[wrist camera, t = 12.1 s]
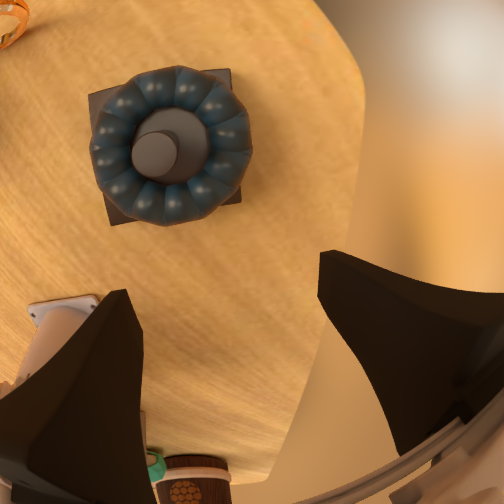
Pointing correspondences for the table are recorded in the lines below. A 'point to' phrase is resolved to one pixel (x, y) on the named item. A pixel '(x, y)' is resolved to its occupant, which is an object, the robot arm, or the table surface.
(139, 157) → the peg stand
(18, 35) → the ring
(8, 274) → the table surface
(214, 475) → the mug
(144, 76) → the ring
